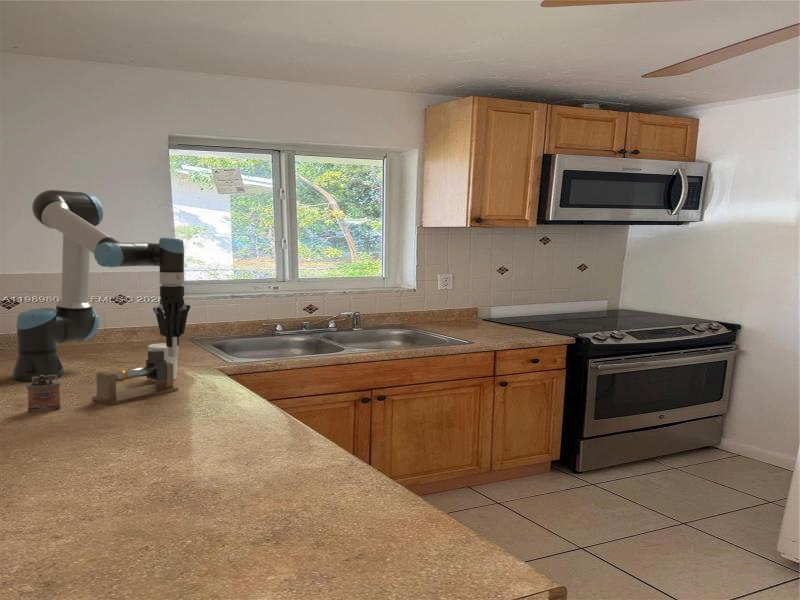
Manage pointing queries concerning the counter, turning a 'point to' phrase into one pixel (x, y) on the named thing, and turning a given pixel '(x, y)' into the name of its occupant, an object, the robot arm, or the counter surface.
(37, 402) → the lighter
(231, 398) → the counter surface
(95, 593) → the counter surface
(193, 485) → the counter surface
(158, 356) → the collar
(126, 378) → the pipe rig
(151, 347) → the candle holder
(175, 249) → the robot arm
